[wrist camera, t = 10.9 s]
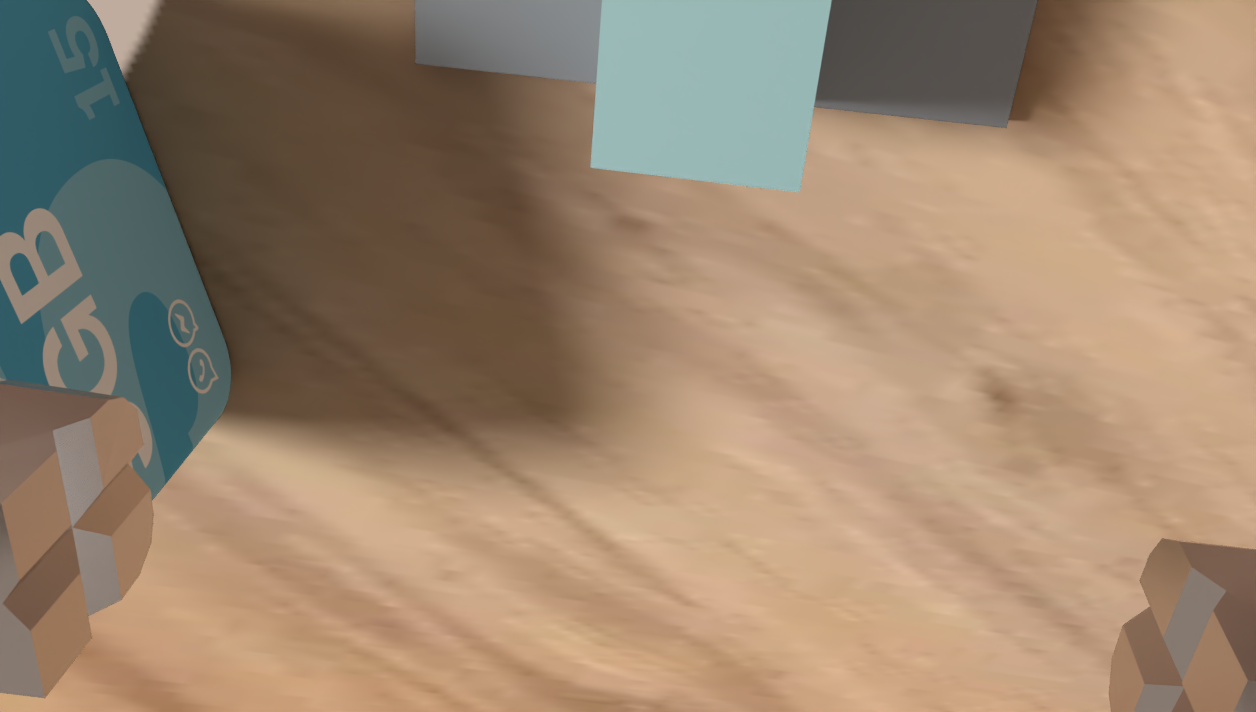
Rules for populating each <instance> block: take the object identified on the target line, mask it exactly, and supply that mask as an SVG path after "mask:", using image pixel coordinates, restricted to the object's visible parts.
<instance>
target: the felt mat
mask: <svg viewBox="0 0 1256 712" xmlns="http://www.w3.org/2000/svg"><path fill="white" fill-rule="evenodd" d="M1037 2H1038V0H832V1H831V7H830V13H829V19H828V25H827V31H826V37H825V43H824V49H823V55H822V61H821V67H820V73H819V79H818V85H817V91H816V97H815V104H814V107H817V108H827V109H836V110H845V111H854V112H863V113H873V114H882V115H891V116H900V117H909V118H919V119H928V120H937V121H946V122H955V123H965V124H974V125H983V126H992V127H1001V128H1007V124H1008V120H1009V116H1010V112H1011V108H1012V103H1013V99H1014V95H1015V91H1016V87H1017V83H1018V79H1019V75H1020V71H1021V67H1022V63H1023V59H1024V55H1025V50H1026V46H1027V42H1028V38H1029V34H1030V30H1031V26H1032V22H1033V18H1034V14H1035V10H1036V6H1037ZM601 8H602V0H415V64H422V65H431V66H440V67H449V68H459V69H468V70H477V71H486V72H495V73H505V74H514V75H523V76H532V77H541V78H551V79H560V80H569V81H578V82H587V83H596V80H597V66H598V51H599V37H600V22H601Z"/></svg>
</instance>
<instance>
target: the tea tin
mask: <svg viewBox="0 0 1256 712" xmlns="http://www.w3.org/2000/svg"><path fill="white" fill-rule="evenodd" d="M831 1H832V0H602V8H601V22H600V37H599V51H598V66H597V80H596V95H595V109H594V124H593V138H592V153H591V167H590V168H597V169H605V170H614V171H622V172H631V173H639V174H648V175H656V176H665V177H673V178H682V179H690V180H699V181H707V182H716V183H724V184H733V185H741V186H750V187H758V188H767V189H775V190H784V191H792V192H800V188H801V182H802V176H803V170H804V164H805V158H806V152H807V146H808V140H809V134H810V128H811V122H812V116H813V110H814V104H815V97H816V91H817V85H818V79H819V73H820V67H821V61H822V55H823V49H824V43H825V37H826V31H827V25H828V19H829V13H830V7H831Z"/></svg>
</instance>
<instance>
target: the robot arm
mask: <svg viewBox="0 0 1256 712" xmlns="http://www.w3.org/2000/svg"><path fill="white" fill-rule="evenodd" d="M143 444H144V443H143V438H142V433H141V427H140V422H139V417H138V412H137V409H136V408H135V407H134V406H133V405H132V404H131V403H130V402H128V401H127V400H126V399H125V398H124V397H119V396H113V395H107V394H100V393H94V392H87V391H81V390H75V389H68V388H62V387H55V386H49V385H42V384H36V383H30V382H23V381H17V380H4V379H2V378H0V693H7V694H15V695H23V696H31V697H39V698H46V696H47V695H48V694H49V693H50V691H51V690H52V689H53V687H54V686H55V685H56V684H57V682H58V681H59V680H60V678H61V677H62V676H63V675H64V673H65V672H66V671H67V669H68V668H69V667H70V666H71V664H72V663H73V662H74V661H75V659H76V658H77V657H78V655H79V654H80V653H81V652H82V650H83V649H84V648H85V646H86V645H87V644H88V643H89V641H90V640H91V639H92V634H91V629H90V623H89V618H88V616H89V615H91V614H93V613H96V612H98V611H100V610H102V609H104V608H106V607H108V606H110V605H112V604H114V603H116V602H118V601H120V600H122V598H123V597H124V596H125V594H126V593H127V592H128V590H129V589H130V588H131V586H132V585H133V583H134V582H135V581H136V579H137V578H138V577H139V575H140V572H141V570H142V567H143V564H144V561H145V559H146V556H147V553H148V550H149V548H150V545H151V541H152V529H153V516H154V513H153V506H152V498H151V490H150V488H149V487H148V486H147V485H146V484H145V482H144V481H143V480H142V479H141V478H140V477H139V475H138V474H137V473H136V472H135V471H134V469H133V468H132V467H131V466H130V465H129V463H130V462H131V461H132V459H133V458H134V457H135V455H136V454H137V452H138V451H139V450H140V448H141V447H142V446H143ZM1140 583H1141V585H1142V588H1143V590H1144V593H1145V595H1146V597H1147V600H1148V602H1149V605H1150V607H1149V608H1147V609H1146V610H1144V611H1143V612H1141V613H1140V614H1138V615H1137V616H1135V617H1134V618H1133V619H1131V620H1130V621H1128V622H1127V623H1125V624H1124V625H1123V626H1122V629H1121V632H1120V635H1119V638H1118V641H1117V644H1116V647H1115V650H1114V653H1113V656H1112V661H1111V673H1110V685H1109V699H1110V707H1111V712H1256V549H1249V548H1240V547H1232V546H1223V545H1215V544H1206V543H1198V542H1189V541H1181V540H1172V539H1164V538H1162V539H1161V540H1160V542H1159V543H1158V544H1157V546H1156V547H1155V548H1154V549H1153V551H1152V552H1151V553H1150V555H1149V557H1148V560H1147V562H1146V565H1145V568H1144V570H1143V573H1142V575H1141V578H1140Z"/></svg>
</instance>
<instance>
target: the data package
mask: <svg viewBox="0 0 1256 712" xmlns="http://www.w3.org/2000/svg"><path fill="white" fill-rule="evenodd" d="M0 378H2V379H4V380H17V381H23V382H30V383H36V384H42V385H49V386H55V387H62V388H68V389H75V390H81V391H87V392H94V393H100V394H107V395H113V396H119V397H124V398H125V399H126V400H127V401H128V402H130V403H131V404H132V405H133V406H134V407H135V408H136V409H137V412H138V417H139V422H140V427H141V433H142V438H143V443H144V444H143V446H142V447H141V448H140V450H139V451H138V452H137V454H136V455H135V457H134V458H133V459H132V461H131V462H130V463H129V465H130V466H131V467H132V468H133V469H134V471H135V472H136V473H137V474H138V475H139V477H140V478H141V479H142V480H143V481H144V482H145V484H146V485H147V486H148V487H149V488H150V490H151V498H152V500H153V499H154V498H155V497H156V495H157V494H158V493H159V492H160V490H161V489H162V488H163V487H164V485H165V484H166V483H167V482H168V480H169V479H170V478H171V477H172V475H173V474H174V473H175V472H176V470H177V469H178V468H179V467H180V466H181V464H182V463H183V462H184V461H185V459H186V458H187V457H188V456H189V454H190V453H191V452H192V451H193V449H194V448H195V447H196V446H197V444H198V443H199V442H200V441H201V439H202V438H203V437H204V436H205V434H206V433H207V432H208V431H209V429H210V428H211V427H212V426H213V424H214V423H215V422H216V421H217V420H218V418H219V417H220V415H221V414H222V412H223V411H224V409H225V406H226V404H227V401H228V397H229V393H230V386H231V365H230V358H229V353H228V349H227V346H226V343H225V340H224V337H223V334H222V332H221V329H220V327H219V324H218V321H217V319H216V316H215V314H214V311H213V308H212V306H211V303H210V301H209V298H208V296H207V293H206V290H205V288H204V285H203V283H202V280H201V277H200V275H199V272H198V270H197V267H196V264H195V262H194V259H193V257H192V254H191V251H190V249H189V246H188V244H187V241H186V238H185V236H184V233H183V231H182V228H181V225H180V223H179V220H178V218H177V215H176V212H175V210H174V207H173V205H172V202H171V199H170V197H169V194H168V192H167V189H166V186H165V184H164V181H163V179H162V176H161V173H160V171H159V168H158V166H157V163H156V161H155V158H154V155H153V153H152V150H151V148H150V145H149V142H148V140H147V137H146V135H145V132H144V129H143V127H142V124H141V122H140V119H139V116H138V114H137V111H136V109H135V106H134V103H133V101H132V98H131V96H130V93H129V90H128V88H127V85H126V83H125V80H124V77H123V75H122V72H121V70H120V67H119V64H118V62H117V59H116V57H115V54H114V52H113V49H112V46H111V44H110V41H109V38H108V36H107V33H106V31H105V29H104V27H103V25H102V23H101V21H100V19H99V17H98V15H97V14H96V12H95V11H94V9H93V8H92V6H91V5H90V4H89V3H88V1H87V0H0Z"/></svg>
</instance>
